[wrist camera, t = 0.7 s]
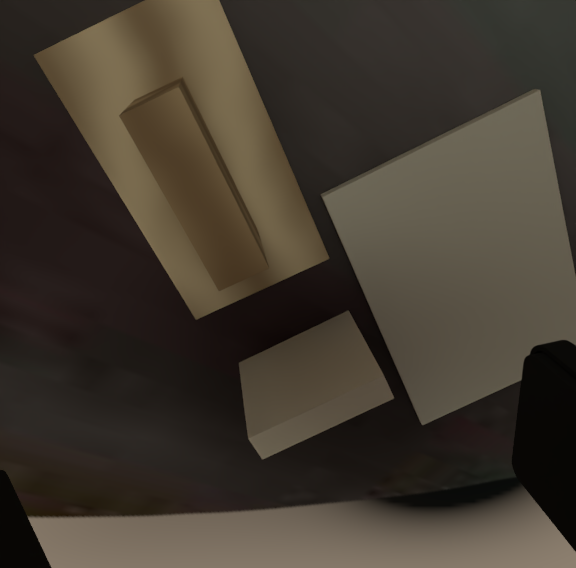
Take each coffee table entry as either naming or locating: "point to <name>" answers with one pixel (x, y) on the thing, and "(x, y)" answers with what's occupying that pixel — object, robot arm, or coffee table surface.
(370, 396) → the tile
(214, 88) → the grout float
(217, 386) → the coffee table surface
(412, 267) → the mat
